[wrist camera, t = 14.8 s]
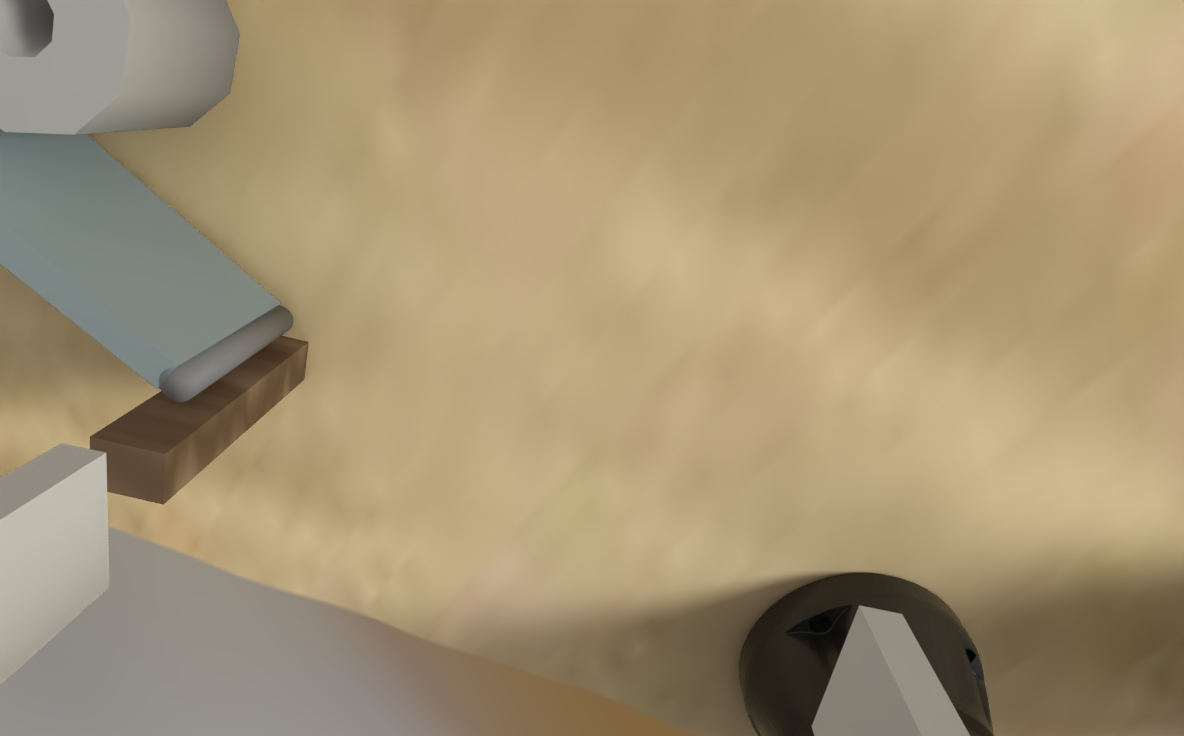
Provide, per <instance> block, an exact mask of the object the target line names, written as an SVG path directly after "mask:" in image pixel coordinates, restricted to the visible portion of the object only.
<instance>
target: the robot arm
mask: <svg viewBox="0 0 1184 736" xmlns="http://www.w3.org/2000/svg"><path fill="white" fill-rule="evenodd" d="M108 553H109V551H108V507H107V463H106V452H101V451H96V450H91V449H86V448H81V447H76V446H72V445H67V444H62V443H61V444H59V445H58V446H56V447H54V448H52V449H50V450H49V451H47V452H45V453H43V454H42V455H40V456H38V457H36V458H35V459H33V460H31V461H29V462H28V463H26V464H24V465H22V466H21V467H19V468H17V469H15V470H14V471H12V472H10V473H8V474H7V475H5V476H3V477H1V478H0V685H1V684H2V683H3V682H4V681H5V680H6V679H7V678H9V676H11V675H12V674H13V673H14V672H15V671H16V670H17V669H19V668H20V667H21V666H22V665H23V664H24V663H25V662H26V661H27V660H28V659H30V658H31V657H32V656H33V655H34V654H35V653H36V652H37V651H38V650H40V649H41V648H42V647H43V646H44V645H45V644H46V643H47V642H49V641H50V640H51V639H52V638H53V637H54V636H55V635H56V634H57V633H59V632H60V631H61V630H62V629H63V628H64V627H65V626H66V625H67V624H69V623H70V622H71V621H72V620H73V619H74V618H75V617H76V616H77V615H79V614H80V613H81V612H82V611H83V610H84V609H85V608H86V607H88V606H89V605H90V604H91V603H92V602H93V601H94V600H95V599H96V598H97V597H98V596H100V595H101V594H102V593H103V592H104V591H105V590H106V589H107V588H109V554H108ZM739 676H740V683H741V688H742V693H743V698H744V703H745V708H746V711H747V714H748V717H749V719H750V722H751V724H752V726H753V728H754V730H755V731H756V733H757V734H758V736H994V733H993V727H992V721H991V715H990V710H989V704H988V698H987V692H986V687H985V683H984V675H983V670H982V665H981V661H980V657H979V655H978V652H977V650H976V647H975V645H974V643H973V641H972V639H971V638H970V636H969V635H968V633H967V632H966V630H965V628H964V627H963V625H962V624H961V622H960V621H959V619H958V618H957V616H956V614H955V613H954V612H953V611H952V609H951V608H950V607H949V606H948V605H947V604H946V603H945V602H944V601H943V600H941V599H940V598H939V597H938V596H936V595H935V594H933V593H932V592H930V591H929V590H927V589H925V588H923V587H921V586H919V585H917V584H915V583H912V582H909V581H906V580H903V579H900V578H896V577H891V576H885V575H877V574H851V575H842V576H837V577H832V578H828V579H824V580H820V581H817V582H814V583H812V584H809V585H806V586H804V587H802V588H800V589H798V590H796V591H794V592H792V593H790V594H789V595H787V596H785V597H784V598H782V599H781V600H780V601H778V602H777V603H776V604H774V605H773V606H772V607H771V608H770V609H769V610H768V611H766V612H765V613H764V615H763V616H762V617H761V618H760V619H759V620H758V622H757V623H756V624H755V625H754V627H753V628H752V630H751V632H750V633H749V635H748V637H747V639H746V641H745V644H744V647H743V649H742V653H741V658H740V665H739Z"/></svg>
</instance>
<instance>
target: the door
mask: <svg viewBox="0 0 1184 736" xmlns="http://www.w3.org/2000/svg"><path fill="white" fill-rule="evenodd" d="M0 264H1V265H2V266H3V267H5V268H6V269H7V270H8V271H10V272H11V273H12V274H13V275H15V276H16V277H17V278H18V279H20V280H21V281H22V282H23V283H25V284H26V285H27V286H28V287H30V288H31V289H32V290H33V291H35V292H36V293H37V294H38V295H40V296H41V297H42V298H43V299H45V300H46V301H47V302H48V303H50V304H51V305H52V306H53V307H55V308H56V309H57V310H58V311H60V312H61V313H62V314H63V315H65V316H66V317H67V318H68V319H70V320H71V321H72V322H73V323H75V324H76V325H77V326H78V327H80V328H81V329H82V330H83V331H85V332H86V333H87V334H89V335H90V336H91V337H92V338H94V339H95V340H96V341H97V342H99V343H100V344H101V345H102V346H104V347H105V348H106V349H107V350H109V351H110V352H111V353H112V354H114V355H115V356H116V357H117V358H119V359H120V360H121V361H122V362H124V363H125V364H126V365H127V366H129V367H130V368H131V369H132V370H134V371H135V372H136V373H137V374H139V375H140V376H141V377H142V378H144V379H145V380H146V381H147V382H149V383H150V384H151V385H152V386H154V387H155V388H156V389H159V388H160V389H161V391H162V393H163V394H164V395H165V396H166V397H167V398H169V399H171V400H173V401H176V402H186V401H188V400H190V399H191V398H193V397H194V396H195V395H197V394H198V393H200V392H201V391H203V390H204V389H205V388H207V387H208V386H210V385H211V384H213V383H214V382H215V381H217V380H218V379H220V378H221V377H223V376H224V375H225V374H227V373H228V372H230V371H231V370H233V369H234V368H235V367H237V366H238V365H240V364H241V363H243V362H244V361H245V360H247V359H248V358H250V357H251V356H253V355H254V354H255V353H257V352H258V351H260V350H261V349H263V348H264V347H265V346H267V345H268V344H270V343H271V342H273V341H274V340H275V339H277V338H278V337H280V336H281V335H283V334H284V333H285V332H287V331H288V330H290V329H291V327H292V325H293V316H292V314H291V313H290V311H289V310H288V309H286V308H285V307H283V306H280V302H279V301H277V300H276V299H275V298H274V297H273V296H272V295H271V294H269V293H268V292H267V291H266V290H265V289H264V288H263V287H261V286H260V285H259V284H258V283H257V282H256V281H254V280H253V279H252V278H251V277H250V276H249V275H248V274H246V273H245V272H244V271H243V270H242V269H241V268H240V267H238V266H237V265H236V264H235V263H234V262H233V261H231V260H230V259H229V258H228V257H227V256H226V255H225V254H223V253H222V252H221V251H220V250H219V249H218V248H217V247H215V246H214V245H213V244H212V243H211V242H210V241H209V240H207V239H206V238H205V237H204V236H203V235H202V234H200V233H199V232H198V231H197V230H196V229H195V228H194V227H192V226H191V225H190V224H189V223H188V222H187V221H186V220H184V219H183V218H182V217H181V216H180V215H179V214H178V213H176V212H175V211H174V210H173V209H172V208H171V207H169V206H168V205H167V204H166V203H165V202H164V201H163V200H161V199H160V198H159V197H158V196H157V195H156V194H155V193H153V192H152V191H151V190H150V189H149V188H148V187H146V186H145V185H144V184H143V183H142V182H141V181H140V180H138V179H137V178H136V177H135V176H134V175H133V174H132V173H130V172H129V171H128V170H127V169H126V168H125V167H124V166H122V165H121V164H120V163H119V162H118V161H117V160H115V159H114V158H113V157H112V156H111V155H110V154H109V153H107V152H106V151H105V150H104V149H103V148H102V147H101V146H99V145H98V144H97V143H96V142H95V141H94V140H93V139H91V138H90V137H89V136H88V135H87V134H76V135H70V134H45V133H21V132H4V131H3V130H1V129H0Z"/></svg>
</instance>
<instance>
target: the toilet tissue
mask: <svg viewBox="0 0 1184 736" xmlns="http://www.w3.org/2000/svg"><path fill="white" fill-rule="evenodd" d="M239 37H240V33H239V31H238V28H237V26H236V23H235V21H234V19H233V16H232V14H231V11H230V9H229V6H228V4H227V2H226V0H0V129H1V130H3V131H4V132H21V133H45V134H70V135H76V134H90V133H105V132H119V131H133V130H147V129H161V128H176V127H190V126H191V125H193V124H194V123H195V122H196V121H197V120H199V119H200V118H201V117H202V116H203V115H205V114H206V113H207V112H208V111H209V110H211V109H212V108H213V107H214V106H215V105H217V104H218V103H219V102H220V101H221V100H222V99H224V98H225V97H226V96H227V95H228V94H230V91H231V85H232V79H233V73H234V67H235V61H236V55H237V49H238V43H239Z"/></svg>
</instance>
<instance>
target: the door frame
mask: <svg viewBox="0 0 1184 736" xmlns="http://www.w3.org/2000/svg"><path fill="white" fill-rule="evenodd" d="M307 349H308V342H305V341H301V340H296V339H292V338H288V337H284V336H280V337H278V338H277V339H275V340H274V341H273V342H271V343H270V344H268V345H267V346H265V347H264V348H263V349H261V350H260V351H258V352H257V353H255V354H254V355H253V356H251V357H250V358H248V359H247V360H245V361H244V362H243V363H241V364H240V365H238V366H237V367H235V368H234V369H233V370H231V371H230V372H228V373H227V374H225V375H224V376H223V377H221V378H220V379H218V380H217V381H215V382H214V383H213V384H211V385H210V386H208V387H207V388H205V389H204V390H203V391H201V392H200V393H198V394H197V395H195V396H194V397H193V398H191V399H190V400H188V401H186V402H176V401H173V400H171V399H169V398H167V397H166V396H165V395H164V394H163V393H162V391H161V392H159V393H158V394H156V395H155V396H153V397H151V398H150V399H148V400H147V401H145V402H144V403H142V404H141V405H139V406H137V407H136V408H134V409H133V410H131V411H130V412H128V413H126V414H125V415H123V416H122V417H120V418H119V419H117V420H115V421H114V422H112V423H111V424H109V425H108V426H106V427H105V428H103V429H101V430H100V431H98V432H97V433H95V434H94V435H92V436H90V449H91V450H96V451H101V452H106V463H107V492H111V493H116V494H120V495H124V496H129V497H133V498H138V499H142V500H146V501H151V502H155V503H159V504H164V503H166V502H167V501H168V500H169V499H170V498H171V497H172V496H173V495H175V494H176V493H177V492H178V491H179V490H180V489H181V488H183V487H184V486H185V485H186V484H187V483H188V482H189V481H190V480H192V479H193V478H194V477H195V476H196V475H197V474H198V473H199V472H201V471H202V470H203V469H204V468H205V467H206V466H207V465H208V464H210V463H211V462H212V461H213V460H214V459H215V458H216V457H217V456H219V455H220V454H221V453H222V452H223V451H224V450H225V449H226V448H228V447H229V446H230V445H231V444H232V443H233V442H234V441H235V440H237V439H238V438H239V437H240V436H241V435H242V434H243V433H244V432H246V431H247V430H248V429H249V428H250V427H251V426H252V425H253V424H255V423H256V422H257V421H258V420H259V419H260V418H261V417H262V416H264V415H265V414H266V413H267V412H268V411H269V410H270V409H271V408H273V407H274V406H275V405H276V404H277V403H278V402H279V401H280V400H282V399H283V398H284V397H285V396H286V395H287V394H288V393H289V392H291V391H292V390H293V389H294V388H295V387H296V386H297V385H298V384H300V383H301V382H302V381H303V380H304V377H305V368H306V358H307Z"/></svg>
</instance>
